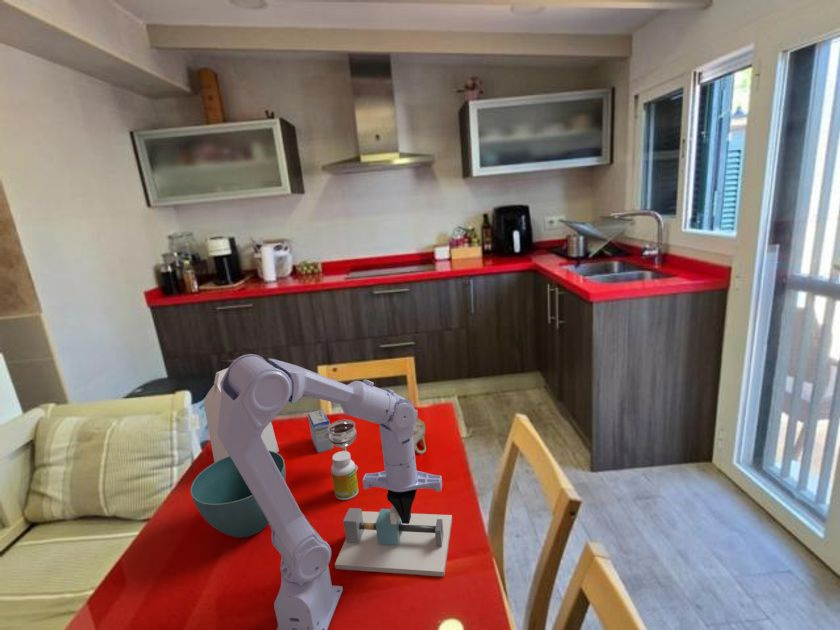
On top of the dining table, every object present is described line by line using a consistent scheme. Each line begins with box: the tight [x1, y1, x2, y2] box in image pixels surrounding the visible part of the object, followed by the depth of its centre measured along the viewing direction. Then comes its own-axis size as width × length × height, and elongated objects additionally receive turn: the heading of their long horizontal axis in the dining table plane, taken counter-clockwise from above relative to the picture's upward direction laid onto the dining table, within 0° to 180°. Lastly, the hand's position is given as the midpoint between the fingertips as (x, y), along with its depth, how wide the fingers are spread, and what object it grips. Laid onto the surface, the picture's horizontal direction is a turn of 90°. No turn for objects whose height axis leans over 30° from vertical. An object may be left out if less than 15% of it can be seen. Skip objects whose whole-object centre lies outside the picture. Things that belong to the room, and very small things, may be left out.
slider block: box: [375, 505, 403, 545], centre depth 84 cm, size 4×4×7 cm
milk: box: [203, 367, 280, 463], centre depth 116 cm, size 12×12×26 cm
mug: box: [413, 417, 427, 455], centre depth 118 cm, size 8×10×10 cm
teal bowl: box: [190, 450, 286, 539], centre depth 93 cm, size 18×18×12 cm
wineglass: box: [328, 419, 359, 472], centre depth 108 cm, size 7×7×12 cm
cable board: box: [334, 507, 453, 577], centre depth 84 cm, size 14×20×6 cm
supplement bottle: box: [330, 450, 359, 501], centre depth 100 cm, size 5×5×10 cm
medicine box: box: [307, 409, 334, 454], centre depth 122 cm, size 8×4×9 cm, turn 25°
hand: (406, 519), depth 83 cm, fingers closed
